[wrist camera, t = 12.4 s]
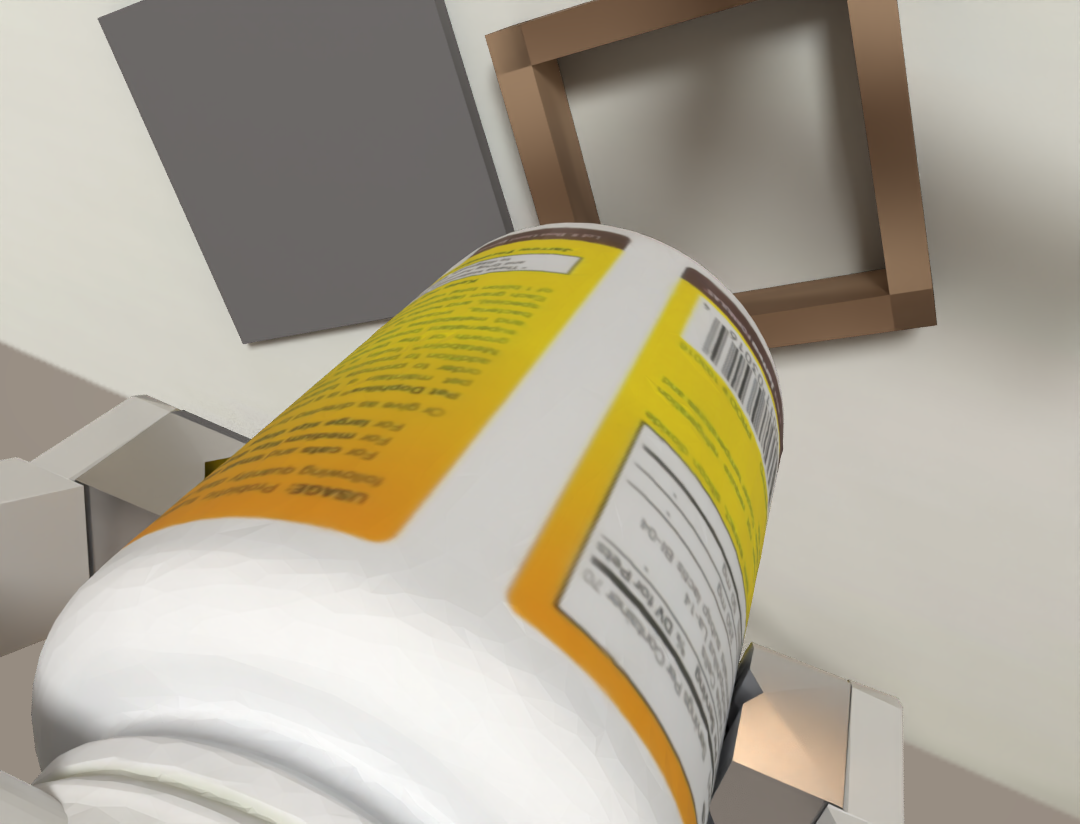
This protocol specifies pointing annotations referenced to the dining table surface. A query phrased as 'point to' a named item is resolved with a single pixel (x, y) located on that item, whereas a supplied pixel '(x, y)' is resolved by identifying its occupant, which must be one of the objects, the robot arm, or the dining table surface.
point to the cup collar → (779, 312)
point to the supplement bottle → (448, 569)
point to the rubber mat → (314, 150)
